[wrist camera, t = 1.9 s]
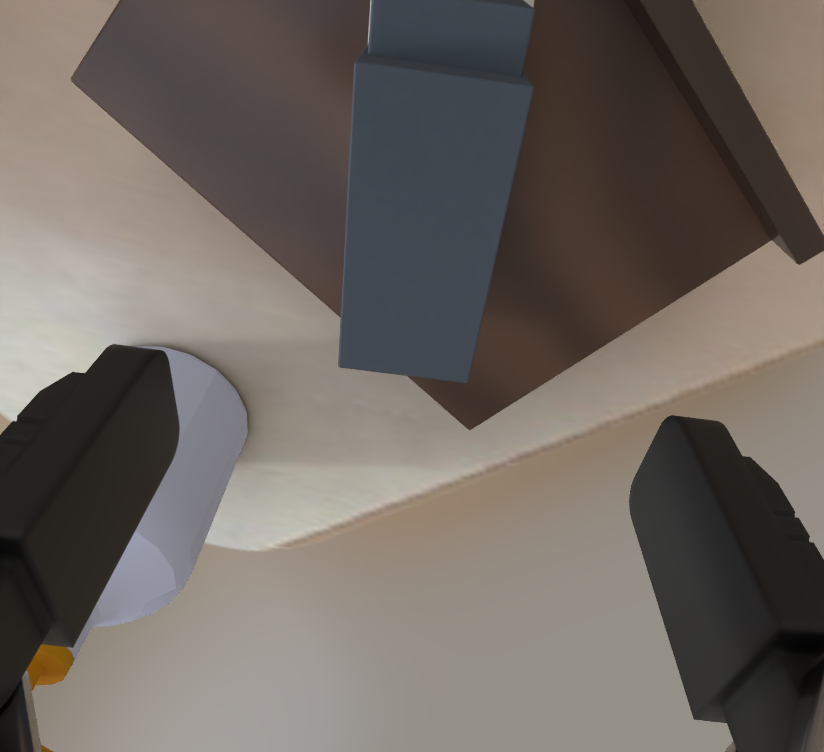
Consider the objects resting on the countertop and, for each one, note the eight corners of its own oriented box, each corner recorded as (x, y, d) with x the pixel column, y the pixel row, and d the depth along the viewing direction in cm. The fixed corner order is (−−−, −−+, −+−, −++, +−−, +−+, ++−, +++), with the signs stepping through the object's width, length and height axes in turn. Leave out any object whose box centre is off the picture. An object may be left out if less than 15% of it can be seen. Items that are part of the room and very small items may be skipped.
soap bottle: (56, 369, 32) (-549, 1035, 13) (193, 321, 30) (-290, 1047, 10) (154, 476, 37) (-173, 1077, 18) (278, 442, 35) (61, 1092, 15)
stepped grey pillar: (465, 319, 23) (468, 388, 20) (353, 305, 23) (336, 372, 20) (531, -6, 17) (554, 9, 13) (375, -29, 17) (355, -20, 13)
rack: (466, 367, 31) (470, 462, 25) (134, 55, 23) (33, 93, 17) (742, 176, 24) (830, 247, 19) (416, -362, 16) (400, -520, 11)
